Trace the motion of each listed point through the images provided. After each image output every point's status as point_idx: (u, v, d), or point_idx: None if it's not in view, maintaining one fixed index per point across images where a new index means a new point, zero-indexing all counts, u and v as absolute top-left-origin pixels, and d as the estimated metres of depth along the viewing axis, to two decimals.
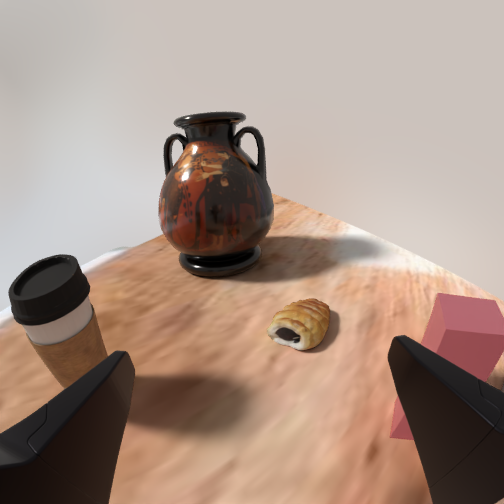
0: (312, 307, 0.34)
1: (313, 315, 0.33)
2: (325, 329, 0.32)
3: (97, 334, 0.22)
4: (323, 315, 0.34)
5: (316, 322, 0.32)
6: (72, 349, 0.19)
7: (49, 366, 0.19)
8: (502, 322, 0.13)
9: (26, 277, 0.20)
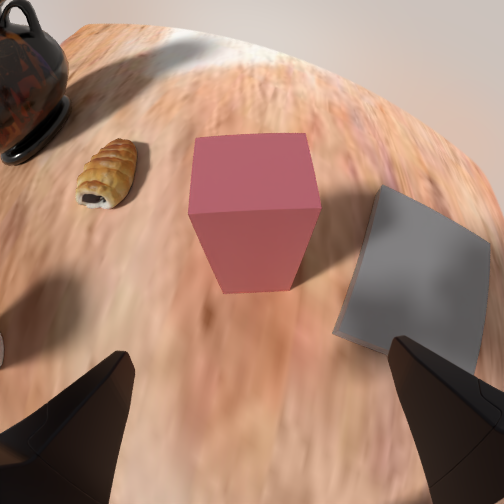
0: (109, 155, 0.26)
1: (110, 165, 0.25)
2: (129, 174, 0.27)
3: None
4: (123, 159, 0.27)
5: (115, 173, 0.25)
6: None
7: None
8: (308, 179, 0.12)
9: None
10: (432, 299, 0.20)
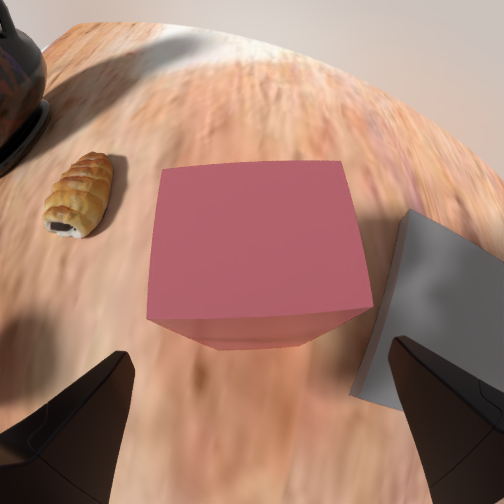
0: (79, 174, 0.21)
1: (80, 187, 0.20)
2: (102, 195, 0.22)
3: None
4: (95, 178, 0.22)
5: (85, 196, 0.20)
6: None
7: None
8: (352, 251, 0.07)
9: None
10: (462, 349, 0.15)
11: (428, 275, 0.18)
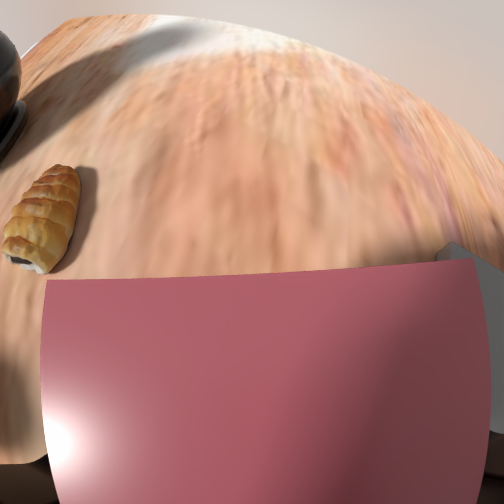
0: (38, 195, 0.16)
1: (38, 212, 0.15)
2: (65, 221, 0.17)
3: None
4: (56, 199, 0.16)
5: (43, 223, 0.15)
6: None
7: None
8: (467, 480, 0.02)
9: None
10: (496, 406, 0.10)
11: None
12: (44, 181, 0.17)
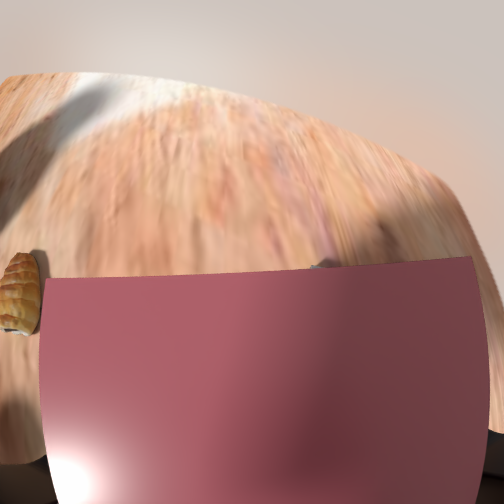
0: (11, 282, 0.20)
1: (14, 295, 0.20)
2: (33, 297, 0.21)
3: None
4: (24, 282, 0.21)
5: (20, 302, 0.20)
6: None
7: None
8: (466, 479, 0.02)
9: None
10: None
11: None
12: (12, 269, 0.22)
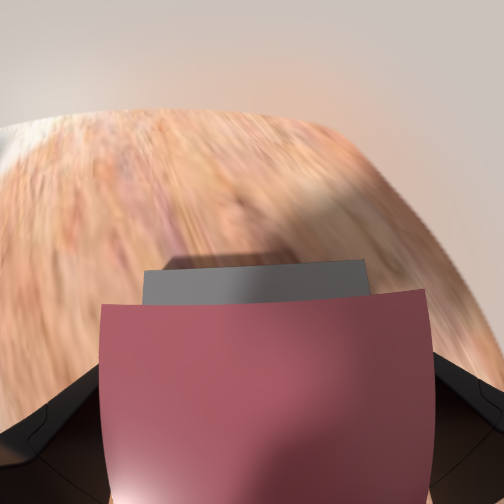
0: None
1: None
2: None
3: None
4: None
5: None
6: None
7: None
8: (418, 459, 0.03)
9: None
10: None
11: None
12: None
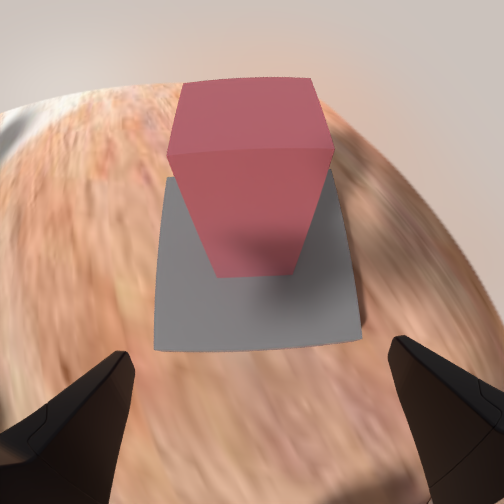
0: None
1: None
2: None
3: None
4: None
5: None
6: None
7: None
8: (317, 120, 0.09)
9: None
10: None
11: (191, 223, 0.22)
12: None
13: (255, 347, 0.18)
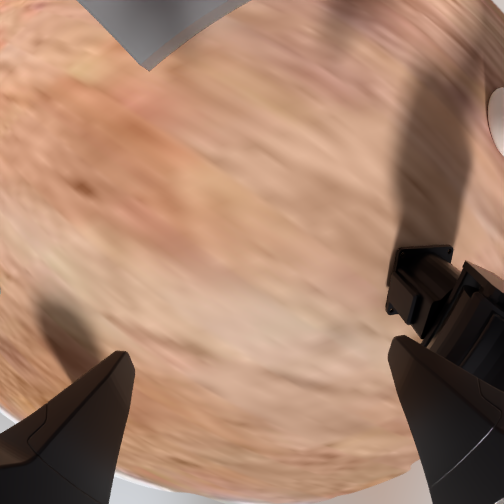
0: None
1: None
2: None
3: None
4: None
5: None
6: None
7: None
8: None
9: None
10: None
11: None
12: None
13: None
